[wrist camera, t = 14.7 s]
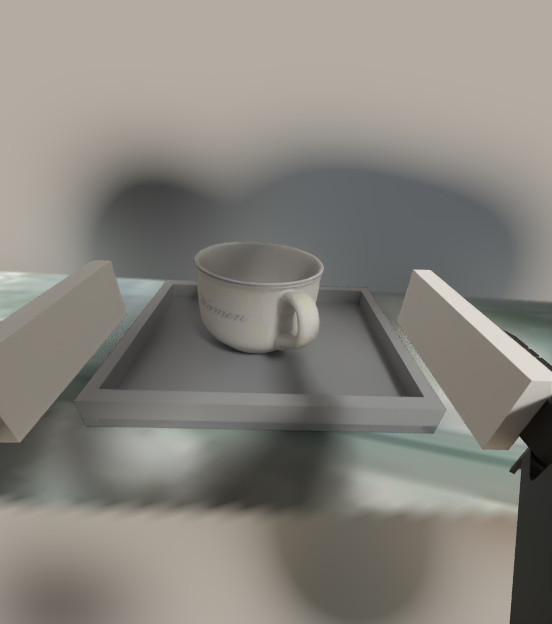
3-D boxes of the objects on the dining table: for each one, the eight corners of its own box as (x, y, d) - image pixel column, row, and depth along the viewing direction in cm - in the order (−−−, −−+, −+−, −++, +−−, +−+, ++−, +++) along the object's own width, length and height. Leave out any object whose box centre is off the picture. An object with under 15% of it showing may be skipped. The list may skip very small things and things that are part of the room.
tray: (363, 305, 35) (367, 287, 34) (433, 433, 20) (446, 409, 18) (170, 298, 34) (166, 280, 33) (86, 426, 19) (74, 400, 18)
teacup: (200, 310, 31) (192, 238, 27) (293, 301, 33) (299, 235, 29) (208, 412, 19) (197, 314, 15) (349, 386, 22) (372, 297, 18)
